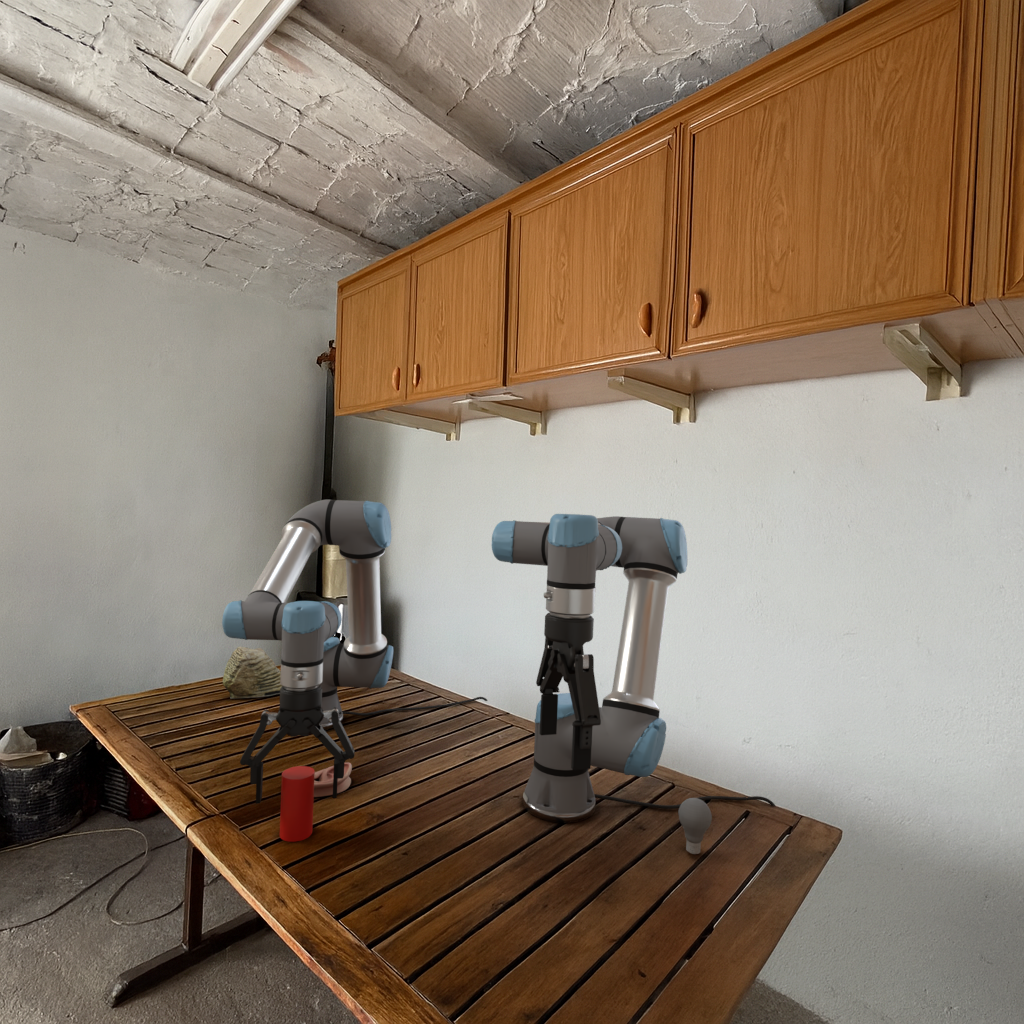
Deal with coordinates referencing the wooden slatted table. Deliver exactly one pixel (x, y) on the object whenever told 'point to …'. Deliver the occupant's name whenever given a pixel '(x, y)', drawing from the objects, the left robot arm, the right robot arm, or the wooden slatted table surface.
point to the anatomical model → (331, 781)
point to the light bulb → (694, 822)
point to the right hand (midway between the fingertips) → (563, 750)
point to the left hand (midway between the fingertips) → (297, 797)
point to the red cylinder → (297, 803)
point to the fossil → (251, 674)
